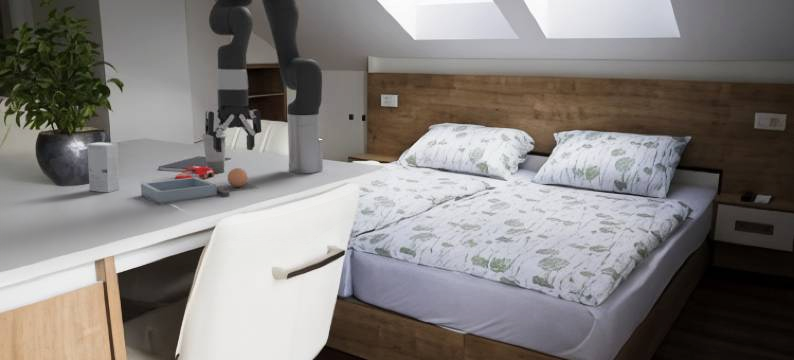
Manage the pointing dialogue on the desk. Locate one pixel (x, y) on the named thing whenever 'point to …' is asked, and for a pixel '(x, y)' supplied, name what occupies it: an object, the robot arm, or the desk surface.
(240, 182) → the ball
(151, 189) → the blue-grey tray
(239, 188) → the tee mat
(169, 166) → the notebook
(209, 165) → the cup
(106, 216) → the desk surface
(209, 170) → the race car
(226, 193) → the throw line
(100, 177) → the skincare box
